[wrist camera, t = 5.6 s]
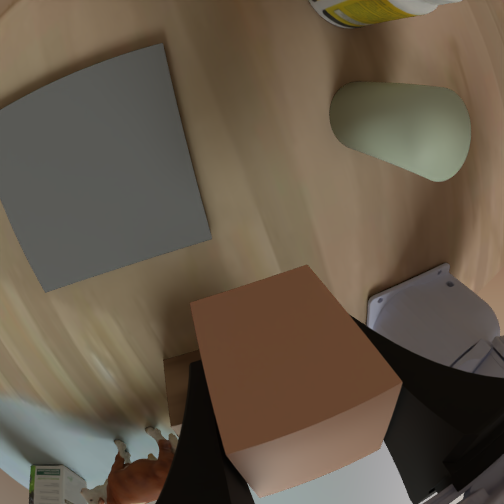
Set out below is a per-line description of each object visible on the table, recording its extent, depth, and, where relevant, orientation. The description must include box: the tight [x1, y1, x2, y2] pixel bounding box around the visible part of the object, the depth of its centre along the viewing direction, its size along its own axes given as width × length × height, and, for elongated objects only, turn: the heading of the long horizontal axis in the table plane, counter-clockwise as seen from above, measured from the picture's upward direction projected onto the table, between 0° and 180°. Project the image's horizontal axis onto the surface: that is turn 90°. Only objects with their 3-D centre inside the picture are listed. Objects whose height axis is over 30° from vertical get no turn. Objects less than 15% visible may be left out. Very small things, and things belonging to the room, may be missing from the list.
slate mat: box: [0, 43, 212, 293], centre depth 15 cm, size 11×11×1 cm
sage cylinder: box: [329, 82, 471, 182], centre depth 14 cm, size 4×4×7 cm
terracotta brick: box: [190, 265, 403, 498], centre depth 10 cm, size 4×4×6 cm
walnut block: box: [163, 350, 201, 436], centre depth 21 cm, size 5×5×6 cm
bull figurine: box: [80, 427, 179, 504], centre depth 23 cm, size 4×13×8 cm, turn 109°
